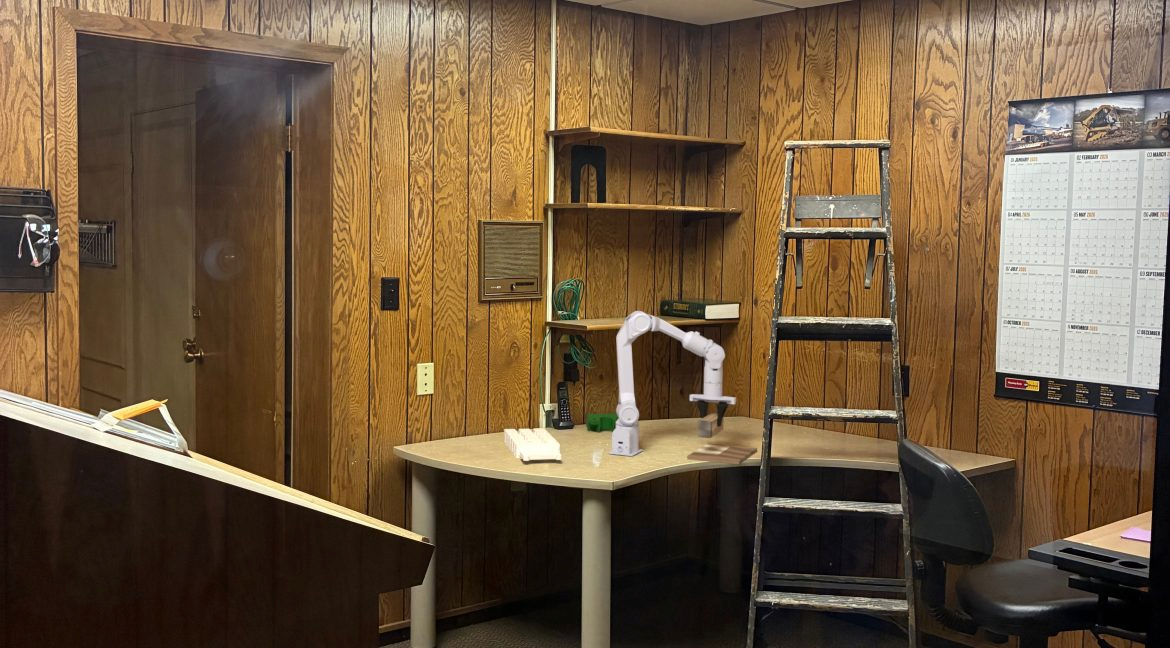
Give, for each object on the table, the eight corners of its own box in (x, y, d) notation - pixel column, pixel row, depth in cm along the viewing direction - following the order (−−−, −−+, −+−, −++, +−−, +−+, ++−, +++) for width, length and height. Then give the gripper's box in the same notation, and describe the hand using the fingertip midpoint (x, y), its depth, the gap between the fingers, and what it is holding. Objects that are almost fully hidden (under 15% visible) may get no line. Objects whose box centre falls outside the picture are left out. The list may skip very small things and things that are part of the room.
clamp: (594, 444, 352) (586, 423, 349) (590, 437, 358) (582, 416, 354) (626, 431, 354) (618, 409, 350) (621, 424, 359) (614, 402, 356)
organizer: (543, 428, 334) (565, 449, 300) (543, 442, 334) (564, 465, 300) (504, 429, 331) (520, 450, 297) (503, 443, 331) (520, 466, 297)
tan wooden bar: (723, 429, 324) (723, 414, 323) (710, 438, 311) (710, 422, 311) (711, 428, 325) (711, 413, 325) (697, 437, 313) (698, 421, 312)
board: (738, 464, 303) (738, 460, 303) (687, 459, 309) (687, 455, 309) (756, 451, 323) (757, 447, 323) (708, 446, 330) (708, 443, 329)
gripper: (739, 382, 319) (738, 425, 320) (694, 379, 325) (694, 421, 326) (732, 384, 312) (731, 428, 313) (687, 381, 318) (686, 424, 319)
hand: (712, 425), depth 319 cm, fingers closed on tan wooden bar, 4 cm apart
